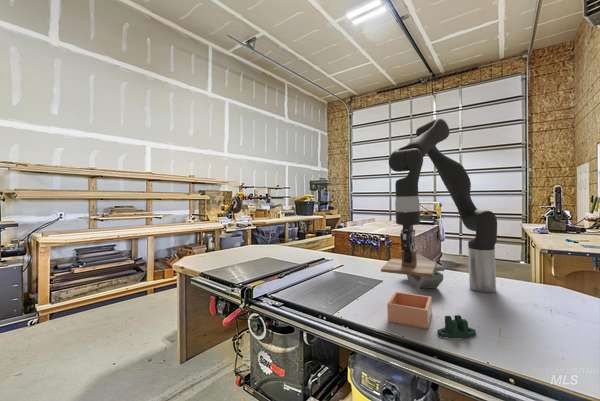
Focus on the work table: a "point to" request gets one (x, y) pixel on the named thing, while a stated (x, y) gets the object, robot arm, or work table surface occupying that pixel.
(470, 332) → the mount
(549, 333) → the work table surface
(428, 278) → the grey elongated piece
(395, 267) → the lid
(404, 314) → the open storage bin
